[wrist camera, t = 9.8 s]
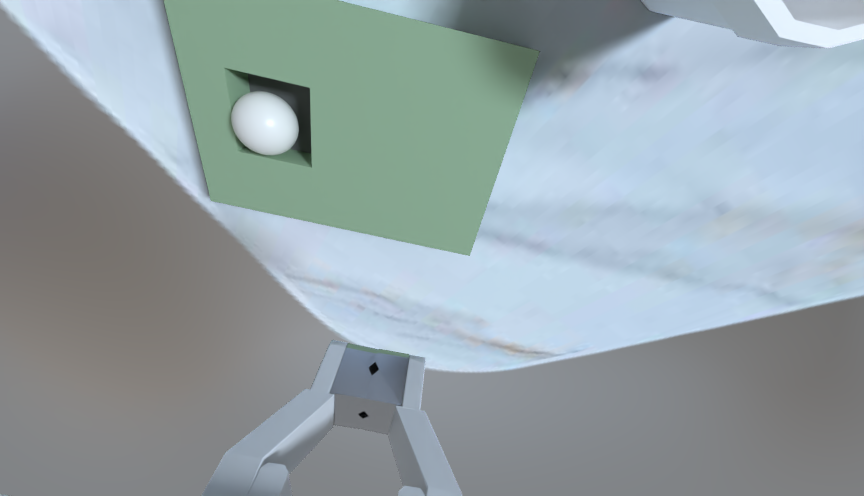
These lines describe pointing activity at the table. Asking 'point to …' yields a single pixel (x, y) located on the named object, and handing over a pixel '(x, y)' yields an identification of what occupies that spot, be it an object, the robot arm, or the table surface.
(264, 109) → the ball
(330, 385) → the robot arm
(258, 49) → the green
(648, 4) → the foam cup
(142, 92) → the table surface
